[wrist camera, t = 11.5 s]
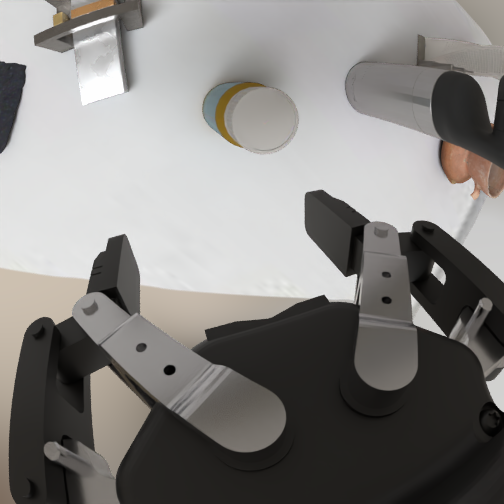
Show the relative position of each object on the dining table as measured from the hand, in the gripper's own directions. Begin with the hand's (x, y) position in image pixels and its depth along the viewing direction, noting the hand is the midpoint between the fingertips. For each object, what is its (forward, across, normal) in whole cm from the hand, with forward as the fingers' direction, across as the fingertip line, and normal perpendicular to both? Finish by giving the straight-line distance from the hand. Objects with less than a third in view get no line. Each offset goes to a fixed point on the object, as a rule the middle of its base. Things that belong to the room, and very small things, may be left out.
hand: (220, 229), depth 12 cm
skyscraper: (+29, -47, -13) cm, 57 cm away
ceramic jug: (+28, -57, +7) cm, 64 cm away
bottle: (+28, -7, -2) cm, 29 cm away
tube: (+28, +8, -17) cm, 34 cm away
